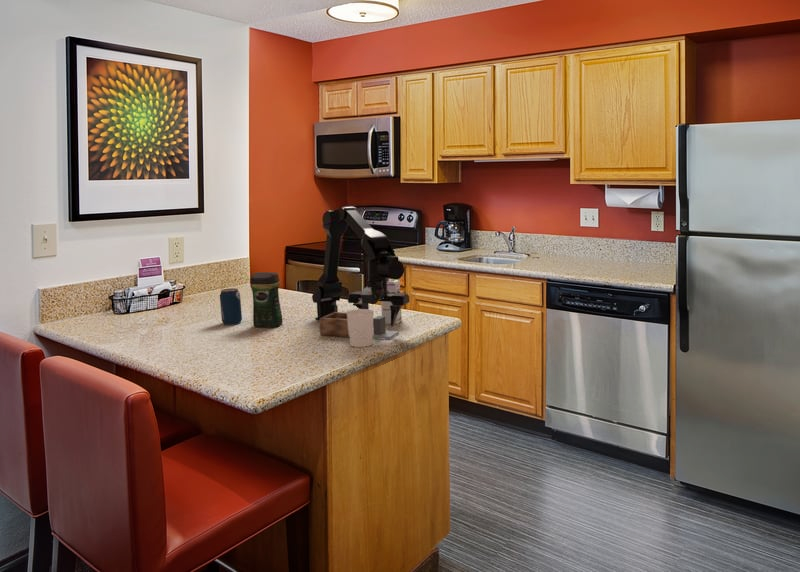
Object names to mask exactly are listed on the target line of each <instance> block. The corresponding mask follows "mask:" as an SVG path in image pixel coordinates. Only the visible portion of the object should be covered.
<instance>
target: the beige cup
mask: <svg viewBox="0 0 800 572" xmlns="http://www.w3.org/2000/svg"><path fill="white" fill-rule="evenodd" d="M346 313H347V323H348V331H349V337H350V338H348V339H349V345H350V346H351V347H353V346H354V347H353V348H367V347H370V345H371V346H372V345H373V342H374V340H373V339H374V338H373V318H374V311H373V310H372V309H351V310H347V311H346ZM366 346H367V347H366Z"/></svg>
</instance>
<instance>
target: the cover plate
mask: <svg viewBox="0 0 800 572" xmlns="http://www.w3.org/2000/svg"><path fill="white" fill-rule="evenodd" d="M386 325H387V324H385V316H382V315H377V316H375V317H373V339H377V338H385V339H384V340H392V339H393V338H395V337H396V336H398V335H399V334H400V332H399V330H387V329H386ZM397 334H398V335H397ZM395 335H396V336H395ZM394 336H395V337H394ZM392 337H393V338H392ZM391 338H392V339H391Z"/></svg>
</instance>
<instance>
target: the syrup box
mask: <svg viewBox="0 0 800 572" xmlns="http://www.w3.org/2000/svg"><path fill="white" fill-rule="evenodd" d="M400 283H401V282H400V279H397V280H395V279H390V278H389V281H388V282H387V291H389V294H388V296H392V295H394V294H396V293H401V284H400ZM383 299H384V298H383ZM380 304H381V305H380V308H381V316H385V325H391V309H390V306H391V305H393V304H392V303H391V302H387V301H380ZM401 321H402V307H401V308H400V310H399V312H398V315H397V317H396V320H395V323H394V325H398V324H399V323H400V322H401Z"/></svg>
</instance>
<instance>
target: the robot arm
mask: <svg viewBox="0 0 800 572" xmlns="http://www.w3.org/2000/svg"><path fill="white" fill-rule="evenodd" d="M348 226H349V227H350V229H351V230H352V231H353V232H354V233H355V234H356V235H357V237H359V239H360V241H361V243H360V245H361V247H362V249H363V251H364V252H365V253H366V256H365V257H364V259H363V260H364V261H367V272H368V279H367V280H366V286H365V287H364V288H363V290H362V291H357V290H356V291H353V292H351V293H349V294H348V296H347V302H348V304H352V306H354V307H356V308H358V309H369V304H371V305H376V304H377V303H378V302H381V301H387V302H391V303H392V304H393V305H391V306H390V309H391V324H390V327H394V326H395V324H394V323H395V320H396V317H397V315H398V312H399V310H400V308H401V309H402V307H403V306H405V305H407V304H409V303H410V295H409V294H408V292H407V293H406V292H405V293H404V292H400V293H396V294H394V295H392V296H388V294H389V291H387V282H388V281H389V279H395V280H400V279H401V278H402V277H403V275H404V274H405V267H404V264H403V262H402V261H401V260H399V255H398V256H397V254H396V253H395V249H394V248H393V247H392V244H391V242H390V239H389V237H388V236H387V235H386V234H384V233H383V232H381V231H379V230H376V229H374V228H373V227H372V226H371V225H370V224H369V223H368V222H367V220H365V218H364V217H363V216H362V215H361V214H360V213H359V212H358V210H357V207H355V206H342V207H341V208H340V207H339V208H338V209H334V210H326V211H325V212H323V215H322V228H323V230H324V232H325V234H326V240H325V249H324V250H325V251H324V261H323V271H322V274H321V275H320V277H319V278H318V279H317V284H316V287H315V290H314V292H313V294H312V295H311V298H312V302H313V303H316V312H317V313H316V314H317V316H316V317H315V320H319V321H320V318H322V317H324V316H326V315H328V314H331V313H333V312H339V309H338V308H339V307H338V305H337V301H339V302H340V300H341V294H342V286H343V282H342V281H341V280H340V279H339V276H338V272H339V271H338V270H339V261H340V252H341V243H342V237H343V236H344V234H345V233H346V231H347V229H348ZM383 298H384V299H383ZM369 310H370V309H369Z"/></svg>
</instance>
